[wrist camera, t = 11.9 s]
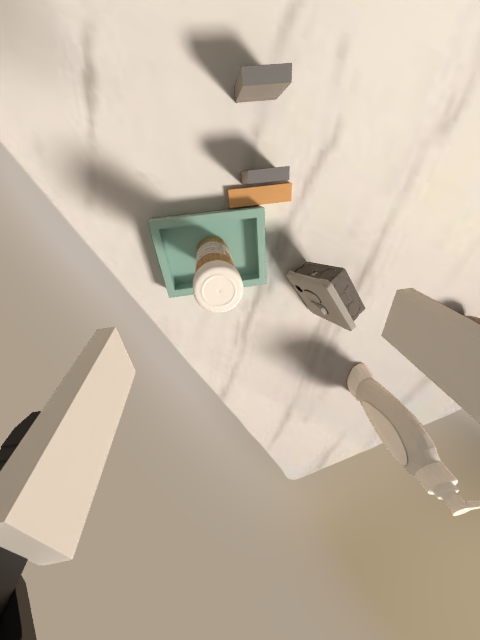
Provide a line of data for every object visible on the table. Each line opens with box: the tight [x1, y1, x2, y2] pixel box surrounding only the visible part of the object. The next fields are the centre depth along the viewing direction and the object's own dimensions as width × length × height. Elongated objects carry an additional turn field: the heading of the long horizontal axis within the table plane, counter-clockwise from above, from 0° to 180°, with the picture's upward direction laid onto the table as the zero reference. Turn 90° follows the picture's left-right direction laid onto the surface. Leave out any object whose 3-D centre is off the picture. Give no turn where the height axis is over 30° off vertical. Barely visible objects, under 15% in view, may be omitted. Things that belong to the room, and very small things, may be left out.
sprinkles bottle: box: [193, 236, 243, 312], centre depth 26 cm, size 5×4×13 cm
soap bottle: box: [347, 363, 480, 516], centre depth 41 cm, size 13×8×24 cm, turn 13°
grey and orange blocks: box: [228, 63, 292, 208], centre depth 24 cm, size 11×8×5 cm
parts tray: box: [147, 206, 267, 298], centre depth 31 cm, size 10×14×2 cm
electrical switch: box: [286, 262, 365, 331], centre depth 33 cm, size 9×5×9 cm, turn 38°
